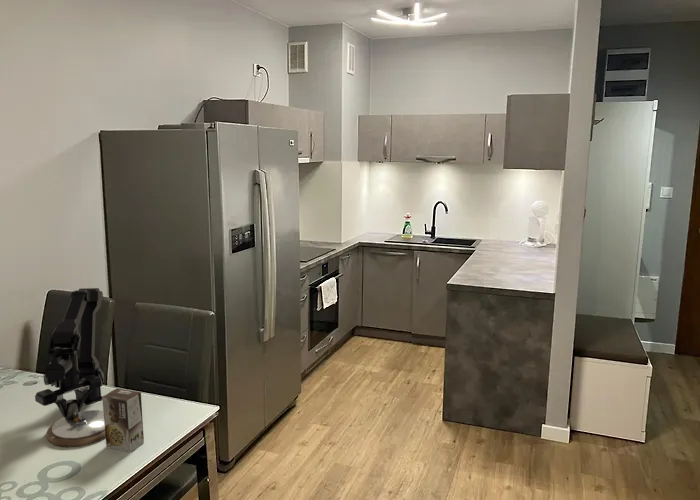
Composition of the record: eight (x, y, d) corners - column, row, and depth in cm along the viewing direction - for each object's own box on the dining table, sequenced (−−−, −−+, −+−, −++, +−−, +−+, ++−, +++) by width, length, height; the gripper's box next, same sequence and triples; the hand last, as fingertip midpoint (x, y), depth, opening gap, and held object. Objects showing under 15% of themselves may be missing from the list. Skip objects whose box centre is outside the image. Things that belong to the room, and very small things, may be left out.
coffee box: (145, 442, 168) (142, 391, 165) (130, 453, 162) (127, 400, 159) (120, 437, 171) (117, 387, 168) (104, 447, 165) (101, 395, 162)
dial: (123, 423, 176) (122, 405, 175) (70, 445, 163) (68, 426, 162) (94, 408, 186) (92, 391, 185) (41, 428, 173) (39, 410, 172)
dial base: (96, 409, 189) (96, 405, 188) (130, 427, 177) (130, 422, 177) (34, 433, 173) (34, 428, 172) (68, 454, 161) (67, 449, 161)
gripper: (83, 354, 187) (86, 397, 190) (24, 371, 172) (28, 418, 175) (101, 361, 181) (104, 406, 184) (42, 380, 166) (46, 429, 169)
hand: (71, 414), depth 178 cm, fingers closed on dial, 4 cm apart
